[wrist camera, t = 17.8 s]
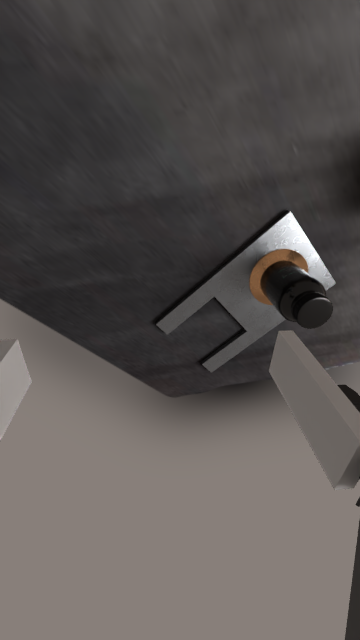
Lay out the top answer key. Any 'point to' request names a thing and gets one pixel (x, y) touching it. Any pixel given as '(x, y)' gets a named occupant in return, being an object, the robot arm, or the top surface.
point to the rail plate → (250, 286)
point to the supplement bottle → (296, 294)
